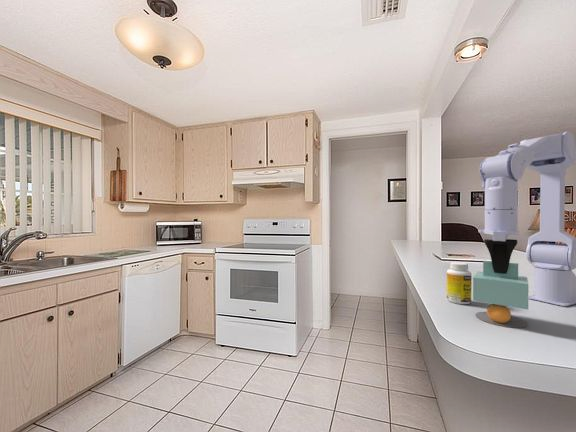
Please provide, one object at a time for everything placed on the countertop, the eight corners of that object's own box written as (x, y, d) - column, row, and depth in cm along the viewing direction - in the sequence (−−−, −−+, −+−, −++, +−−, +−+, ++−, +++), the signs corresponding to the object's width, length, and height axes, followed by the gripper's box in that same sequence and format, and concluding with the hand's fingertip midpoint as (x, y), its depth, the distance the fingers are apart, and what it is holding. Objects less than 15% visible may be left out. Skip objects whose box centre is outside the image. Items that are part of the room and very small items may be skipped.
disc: (490, 310, 66) (490, 309, 66) (536, 323, 58) (536, 322, 58) (466, 315, 62) (466, 315, 62) (513, 330, 54) (513, 329, 54)
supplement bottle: (465, 306, 69) (465, 265, 69) (442, 300, 74) (442, 262, 74) (475, 302, 72) (475, 263, 72) (453, 297, 77) (453, 260, 77)
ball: (491, 326, 57) (493, 322, 60) (514, 323, 55) (515, 319, 58) (482, 307, 59) (484, 304, 62) (504, 303, 56) (505, 300, 59)
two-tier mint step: (477, 292, 66) (477, 258, 66) (526, 299, 61) (526, 262, 61) (473, 300, 59) (473, 262, 60) (528, 309, 54) (528, 267, 54)
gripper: (481, 211, 68) (481, 265, 68) (474, 209, 57) (474, 275, 57) (518, 210, 64) (518, 269, 64) (519, 209, 53) (519, 280, 53)
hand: (500, 272), depth 60 cm, fingers closed on two-tier mint step
